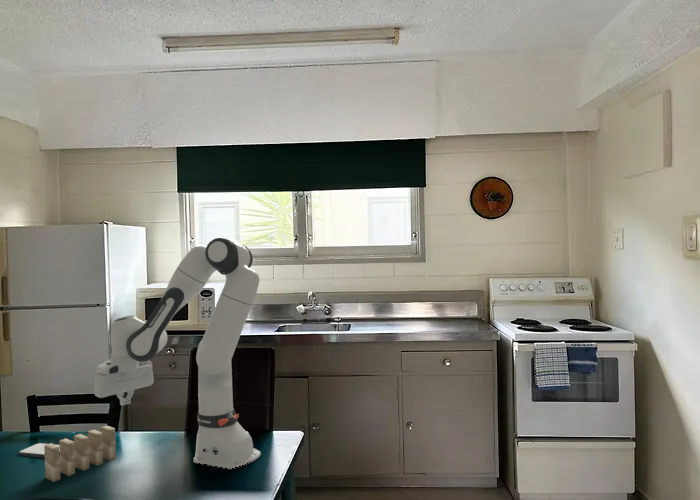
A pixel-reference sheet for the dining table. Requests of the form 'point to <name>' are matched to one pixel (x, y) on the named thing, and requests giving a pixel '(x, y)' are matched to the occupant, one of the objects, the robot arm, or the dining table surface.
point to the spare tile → (52, 462)
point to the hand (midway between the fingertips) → (125, 404)
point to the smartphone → (35, 451)
